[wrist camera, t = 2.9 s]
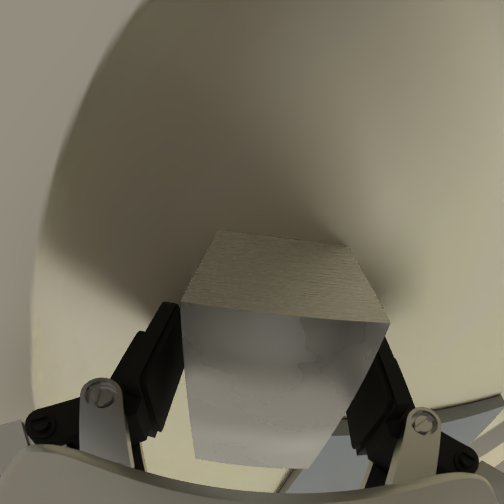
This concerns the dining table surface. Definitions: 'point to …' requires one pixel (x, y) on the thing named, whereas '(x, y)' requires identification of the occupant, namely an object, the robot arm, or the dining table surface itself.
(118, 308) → the dining table surface
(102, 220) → the dining table surface
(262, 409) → the block
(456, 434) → the pin tray
